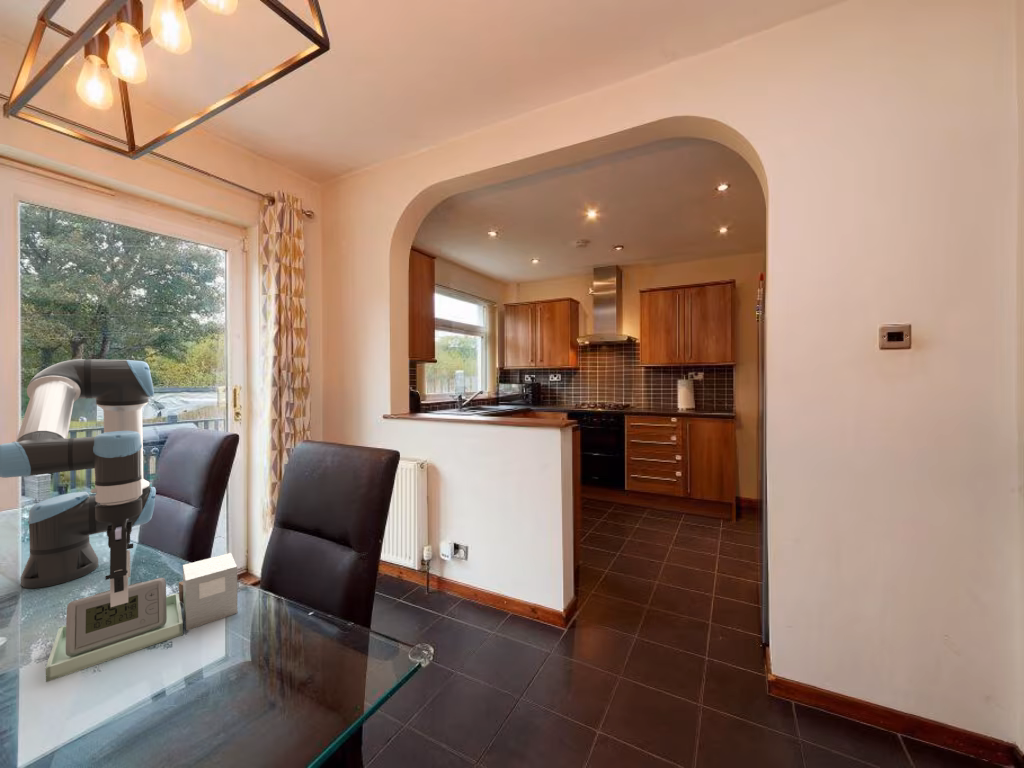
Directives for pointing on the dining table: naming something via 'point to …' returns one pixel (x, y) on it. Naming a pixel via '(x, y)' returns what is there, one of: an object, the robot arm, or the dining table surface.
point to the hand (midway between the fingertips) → (121, 590)
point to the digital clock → (115, 617)
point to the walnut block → (181, 591)
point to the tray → (66, 664)
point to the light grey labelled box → (209, 590)
